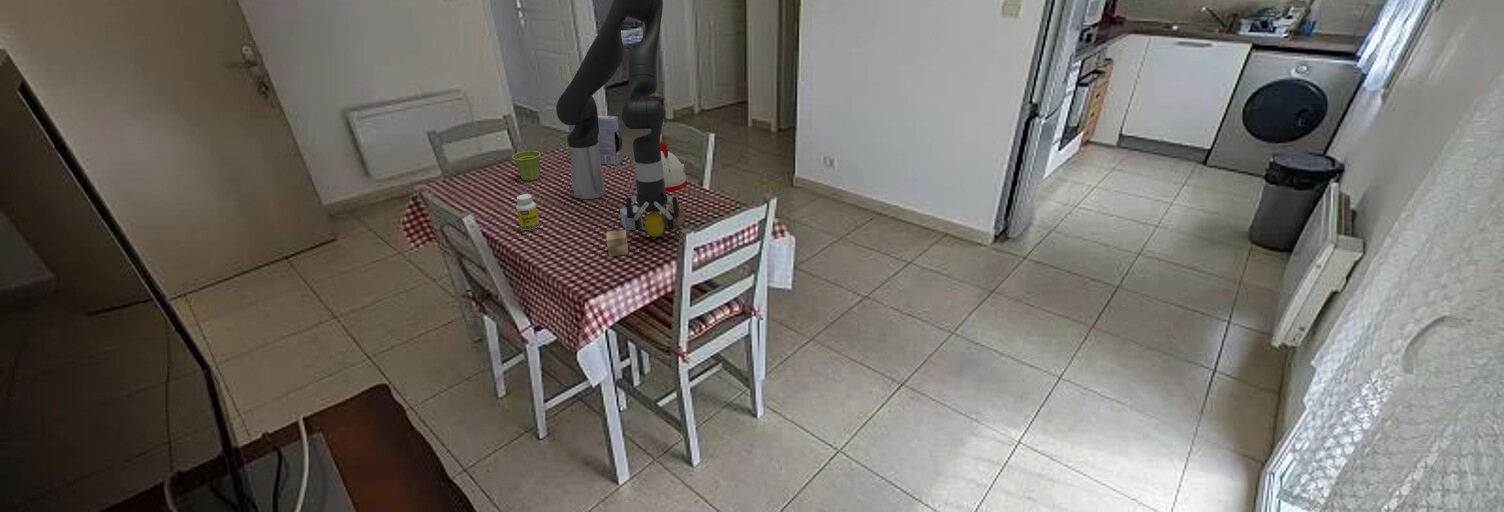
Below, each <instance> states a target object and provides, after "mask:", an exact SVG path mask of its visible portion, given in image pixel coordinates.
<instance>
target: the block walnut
mask: <svg viewBox="0 0 1504 512" xmlns="http://www.w3.org/2000/svg"><path fill="white" fill-rule="evenodd" d="M666 205H667V206H668V207H669V209H670V210H671V211H672V212H674V208H673V204H670V203H669V204H667V203H666ZM679 209H680V214H679V217H675V218H674V228H673V229H679V228H680V227H681V226H682V225H683V223H684V222H685V208H684V205H680V204H679ZM660 214H661V215H662V217H663V219H664V222H665V228H668V217H667V216H666V215H664V214H663V213H662V212H661V211H660Z"/></svg>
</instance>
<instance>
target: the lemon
mask: <svg viewBox="0 0 1504 512" xmlns="http://www.w3.org/2000/svg"><path fill="white" fill-rule="evenodd" d="M665 228H666V227H665V222H664V219H663V217H662V215H661V213H659V212H654V211H652V212H648V213H647V215H646V216H645V218H644V229H645V231H646V233H647V234H648V235H649V236H651V237H654V238H658V237H659V236H661V235H662V234H663V233H664V232H665Z"/></svg>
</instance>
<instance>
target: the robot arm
mask: <svg viewBox="0 0 1504 512" xmlns="http://www.w3.org/2000/svg"><path fill="white" fill-rule="evenodd" d="M663 5H664V1H663V0H613V1H612V3H611V5H610V9H609V11H608V12H607V15H606V17H605V19H604V22H603V24H602V25H601V28H600V29H599V31H598V33H597V35H596V36H595V38H594V40H593V42H592V43H591V44H590V46H589V48H588V50H587V51H586V53H585V56H584V58H583V60H582V62H581V63H580V66H579V67H578V69H577V71H576V73H575V74H574V76H573V78H572V80H571V81H570V83H569V84H568V86H567V87H566V89H565V90H564V91H563V92H562V94H561V95H560V96H559V98H558V99H557V102H556V107H555V110H556V116H557V119H559V122H560V123H562V124H564V125H566V126H569V125H575V127H574V129H573V130H572V132H571V133H569V134H568V136H567V145H568V152H569V157H570V158H569V159H570V163H571V169H570V175H571V182H572V189H573V194H574V198H578V199H581V200H594V199H598V198H602V197H603V196H605V195H606V187H605V182H604V181H605V180H604V175H603V167H602V164H601V159H600V152H599V145H598V135H599V125H598V116H599V114H598V107H597V103H596V101H595V98H594V97H593V96H594V95H595V94H596V93H597V92H598V91H599V90H600V89H601V88H603V87H604V86H605V85H606V84H607V83H608V82H609V81H610V80H611V79H612V78H613V77H614V75H615V74H616V73H617V71H618V69H619V68H620V65H621V64H622V63H623V60H624V55H625V53H624V52H625V51H624V43H623V37H622V26H623V23H624V21H625V20H626V18H628V17H629V18H632V19H634V20H637V21H640V22H641V23H643V24H644V33H643V36H642V38H641V39H640V41H639V42H638V43H637V45H636V46H635V47H634V49H633V51H632V52H631V55H630V57H629V61H628V88H627V93H626V97H625V99H624V103H623V105H622V106H623V107H622V111H621V118H622V119H621V120H622V121H623V124H624V126H625V127H626V128H628V129H630V130H645V129H647V130H649V129H651V131H650V132H649V133H648V134H644V135H641V136H639V137H635V138H634V139H633V142H632V150H633V159H634V175H635V184H636V192H637V196H633V195H631V194H628V195H627V197H626V200H625V205H626V208H627V217H628V218H633V219H634V220H635V228H636V229H635V230H636V231H637V233H638V232H639V233H641V232H642V229H643V228H642V226H641V217H640V216H641V215H642V214H643V213H644V212H647V213H651V212H652V211H654V212H658V213H659V212H660V213H661V212H662V213H663V214H664V215H666V216H667V217H668V227H667V228H668V232H672V230H674V229H675V228H674V218H675V217H679V214H680V209H679V205H680V204H679V203H680V202H679V198H678V194H677V193H674V194H673V195H668V194H666V193H667V192H665V182H664V170H663V164H662V159H661V149H660V143H661V136H662V131H663V130H662V128H663V125H664V124H663V123H664V120H665V108H664V106H663V105H662V103H661V102H660V101H659V100H656V99H654V100H653V99H649V100H641V99H642V98H644V97H648V96H651V95H653V94H655V93H656V92H657V88H658V87H657V86H658V85H657V84H658V83H657V82H658V81H657V77H658V76H657V54H658V46H659V45H658V44H659V41H660V40H659V39H660V32H661V23H662V18H663V16H662V15H663V8H664V7H663ZM668 201H669V204H670V205H673V208H674V212H672V211H671V210H670V209H669V207H668V206H667V202H668ZM635 202H637V204H638V205H639V207H638V208H639V209H638V211H637V212H636V213H634V212H633V205H634V204H635ZM642 216H643V215H642Z"/></svg>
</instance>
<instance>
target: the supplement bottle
mask: <svg viewBox="0 0 1504 512" xmlns="http://www.w3.org/2000/svg"><path fill="white" fill-rule="evenodd" d="M516 200H517V204H516V207H515V208H516V212H517V213H516V214H517V217H518V223H519V227H520V229H521V230H522V229H523V230H522V231H524V230H531V229H535V228H537V227H538V228H540V226H541V225H540V220H539V215H538V209H537V204H536V202H535V201H533V197H532V194H530V193H529V194H528V193H523V194H520V195H517V196H516ZM539 225H540V226H539ZM538 228H537V229H538ZM535 230H536V229H535ZM531 231H532V230H531Z"/></svg>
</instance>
